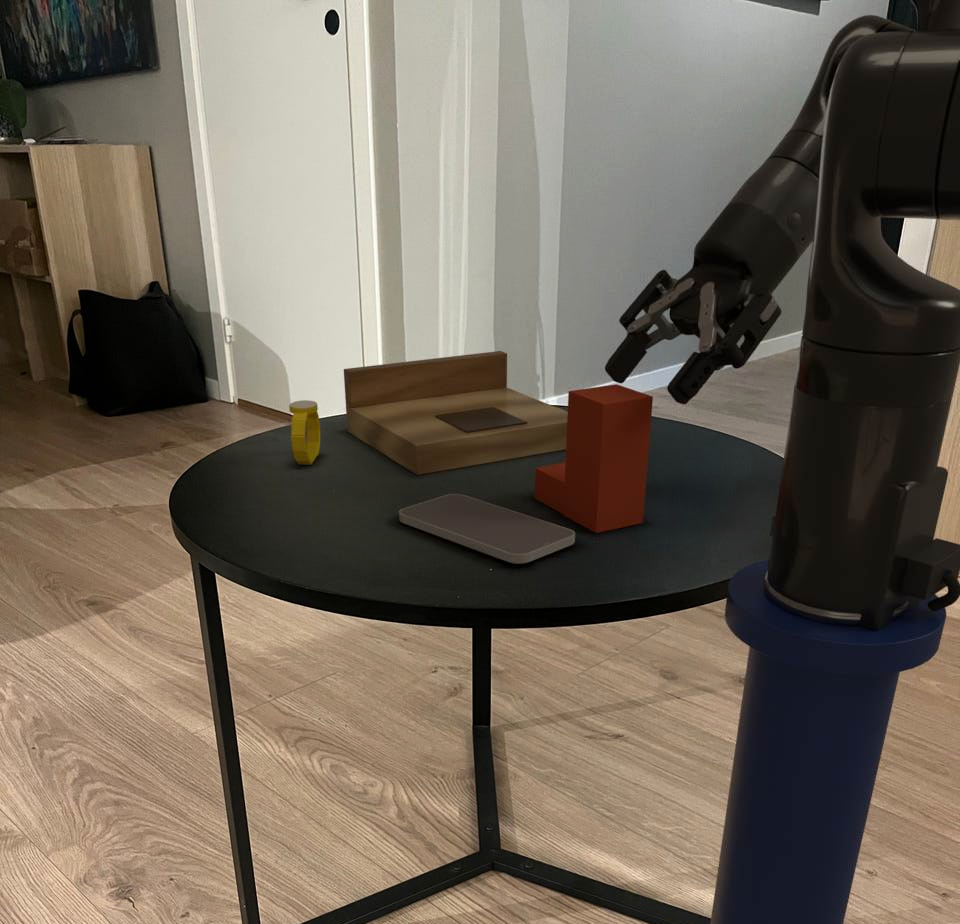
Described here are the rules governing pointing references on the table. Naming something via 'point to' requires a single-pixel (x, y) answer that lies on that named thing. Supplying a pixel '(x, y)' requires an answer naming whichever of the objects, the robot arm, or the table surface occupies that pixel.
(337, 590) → the table surface
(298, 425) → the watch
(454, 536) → the smartphone
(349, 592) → the table surface
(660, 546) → the table surface
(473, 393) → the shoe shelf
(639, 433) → the boot
